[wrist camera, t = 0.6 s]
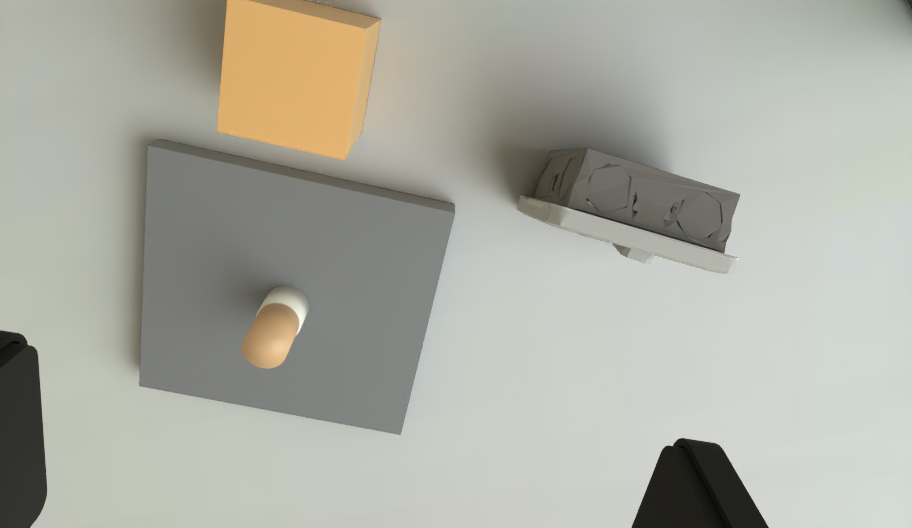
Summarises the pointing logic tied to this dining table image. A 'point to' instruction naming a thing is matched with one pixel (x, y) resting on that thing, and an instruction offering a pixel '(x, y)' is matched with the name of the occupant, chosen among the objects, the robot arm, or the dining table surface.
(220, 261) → the plate
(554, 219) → the electrical switch
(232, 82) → the tan cardboard cube
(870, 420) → the dining table surface
